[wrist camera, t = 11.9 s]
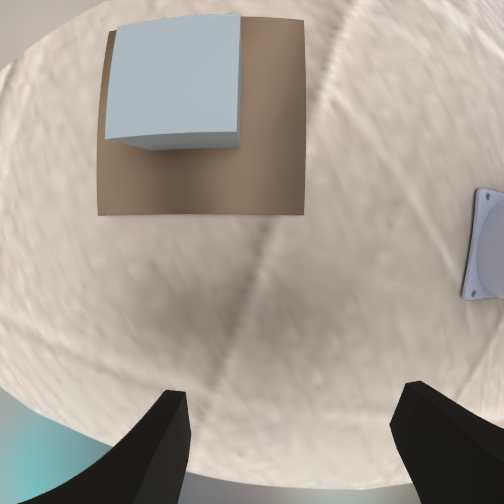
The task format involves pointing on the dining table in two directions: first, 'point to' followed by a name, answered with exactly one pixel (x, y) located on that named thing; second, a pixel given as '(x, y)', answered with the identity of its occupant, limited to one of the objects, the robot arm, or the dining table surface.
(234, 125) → the slate block
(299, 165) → the walnut base board
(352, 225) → the dining table surface
